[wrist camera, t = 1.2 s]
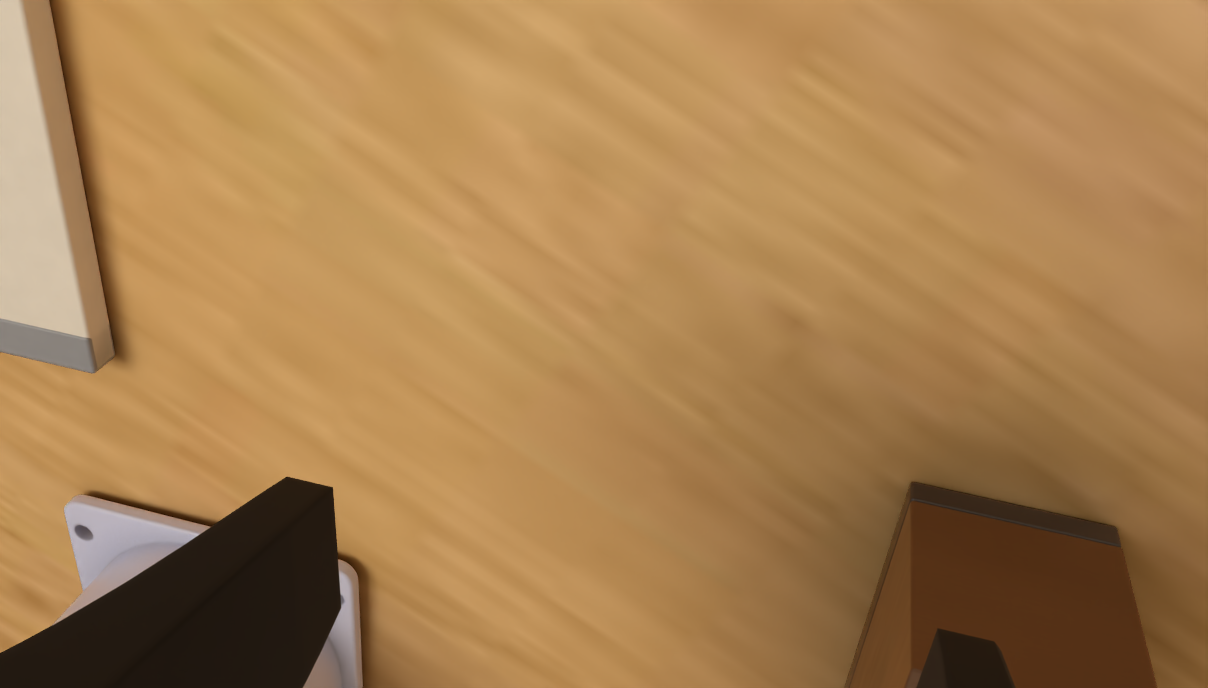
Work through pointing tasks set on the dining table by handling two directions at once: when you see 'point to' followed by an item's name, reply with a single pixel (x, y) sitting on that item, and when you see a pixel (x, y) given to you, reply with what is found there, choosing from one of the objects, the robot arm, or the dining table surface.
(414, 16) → the dining table surface
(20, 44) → the whiteboard
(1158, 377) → the dining table surface
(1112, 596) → the brown rectangular block
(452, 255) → the dining table surface
